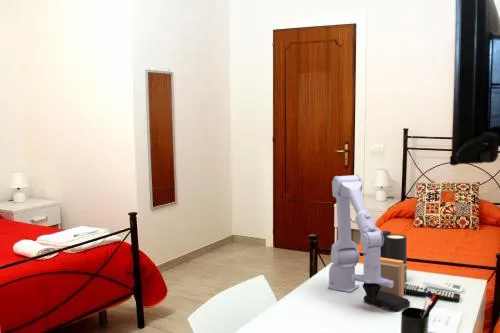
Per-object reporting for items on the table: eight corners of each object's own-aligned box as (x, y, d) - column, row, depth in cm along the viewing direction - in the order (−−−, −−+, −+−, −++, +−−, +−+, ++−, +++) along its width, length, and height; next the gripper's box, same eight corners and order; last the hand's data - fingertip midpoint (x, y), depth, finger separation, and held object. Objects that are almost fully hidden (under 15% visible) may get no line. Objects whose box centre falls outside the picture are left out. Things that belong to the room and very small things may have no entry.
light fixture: (395, 285, 200) (394, 240, 198) (369, 276, 211) (369, 233, 210) (412, 280, 205) (412, 236, 203) (386, 272, 216) (386, 230, 215)
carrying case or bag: (358, 303, 183) (393, 315, 172) (358, 295, 183) (393, 306, 171) (377, 296, 190) (412, 307, 178) (377, 288, 189) (412, 298, 178)
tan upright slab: (398, 299, 184) (398, 264, 183) (374, 294, 190) (374, 260, 189) (406, 293, 191) (406, 258, 189) (383, 288, 196) (383, 255, 195)
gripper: (347, 265, 177) (347, 303, 178) (387, 271, 168) (388, 312, 170) (356, 260, 183) (356, 297, 184) (395, 266, 174) (396, 305, 175)
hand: (372, 304), depth 177 cm, fingers closed
